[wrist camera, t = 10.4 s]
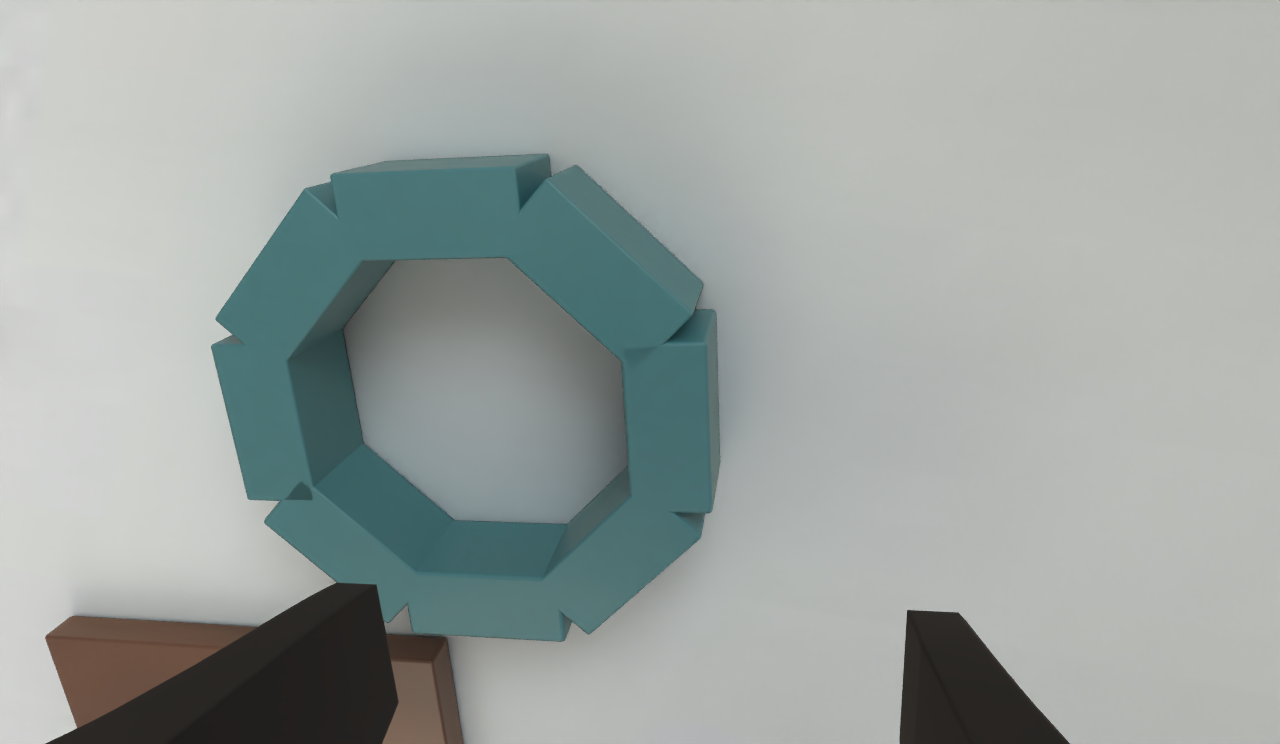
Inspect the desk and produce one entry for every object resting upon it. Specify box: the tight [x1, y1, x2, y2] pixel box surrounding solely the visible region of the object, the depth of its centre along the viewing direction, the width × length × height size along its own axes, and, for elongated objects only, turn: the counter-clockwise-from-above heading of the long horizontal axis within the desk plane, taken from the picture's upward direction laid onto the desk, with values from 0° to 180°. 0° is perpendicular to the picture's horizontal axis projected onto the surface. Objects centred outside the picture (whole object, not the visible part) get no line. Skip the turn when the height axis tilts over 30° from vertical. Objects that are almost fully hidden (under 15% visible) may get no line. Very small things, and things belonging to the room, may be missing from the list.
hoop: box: [211, 154, 720, 642], centre depth 18 cm, size 10×10×2 cm
